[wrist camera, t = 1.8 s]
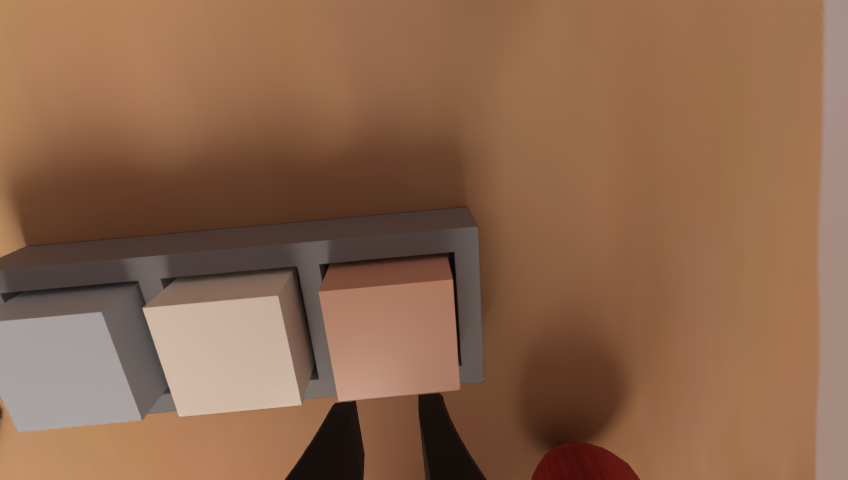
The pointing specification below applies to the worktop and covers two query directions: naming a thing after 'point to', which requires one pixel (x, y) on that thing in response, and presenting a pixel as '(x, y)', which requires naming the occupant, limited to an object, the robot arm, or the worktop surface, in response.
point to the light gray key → (78, 357)
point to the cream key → (233, 341)
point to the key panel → (265, 249)
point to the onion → (582, 464)
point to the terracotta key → (391, 326)
